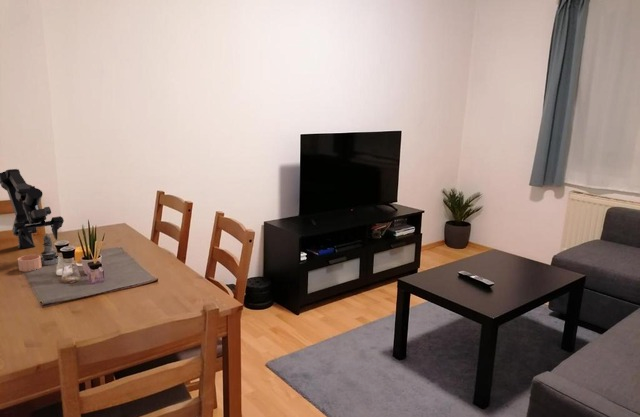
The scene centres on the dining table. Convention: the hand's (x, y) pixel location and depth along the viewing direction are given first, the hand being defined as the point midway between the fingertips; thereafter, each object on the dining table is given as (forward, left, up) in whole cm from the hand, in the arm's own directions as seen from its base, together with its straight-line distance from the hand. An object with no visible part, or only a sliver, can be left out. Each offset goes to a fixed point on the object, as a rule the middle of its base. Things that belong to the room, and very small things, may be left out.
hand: (45, 241), depth 195 cm
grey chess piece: (+3, +1, -8) cm, 9 cm away
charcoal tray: (+4, +1, -8) cm, 9 cm away
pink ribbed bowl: (+8, -7, -8) cm, 13 cm away
